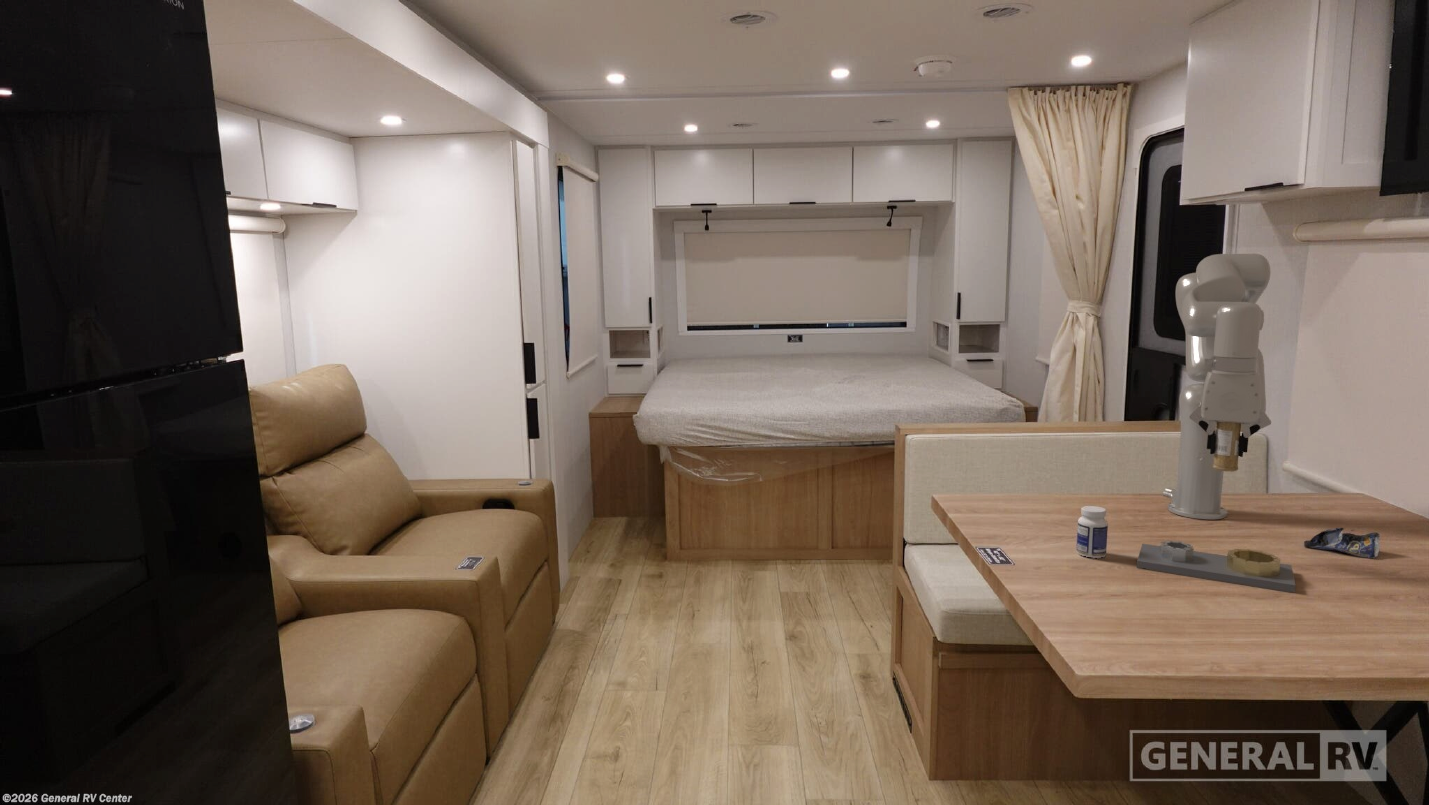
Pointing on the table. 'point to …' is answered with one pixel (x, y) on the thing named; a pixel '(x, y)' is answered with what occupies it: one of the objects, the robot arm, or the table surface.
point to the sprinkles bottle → (1227, 446)
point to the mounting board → (1213, 569)
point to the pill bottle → (1092, 532)
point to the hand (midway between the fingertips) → (1226, 453)
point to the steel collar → (1176, 551)
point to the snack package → (1346, 542)
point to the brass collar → (1253, 562)
